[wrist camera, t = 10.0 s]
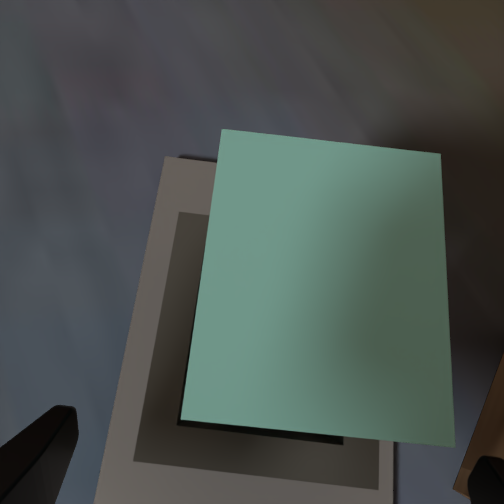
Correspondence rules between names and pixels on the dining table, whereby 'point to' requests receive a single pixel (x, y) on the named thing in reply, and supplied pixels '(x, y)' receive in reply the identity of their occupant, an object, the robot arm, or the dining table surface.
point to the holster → (486, 432)
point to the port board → (173, 387)
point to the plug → (324, 293)
